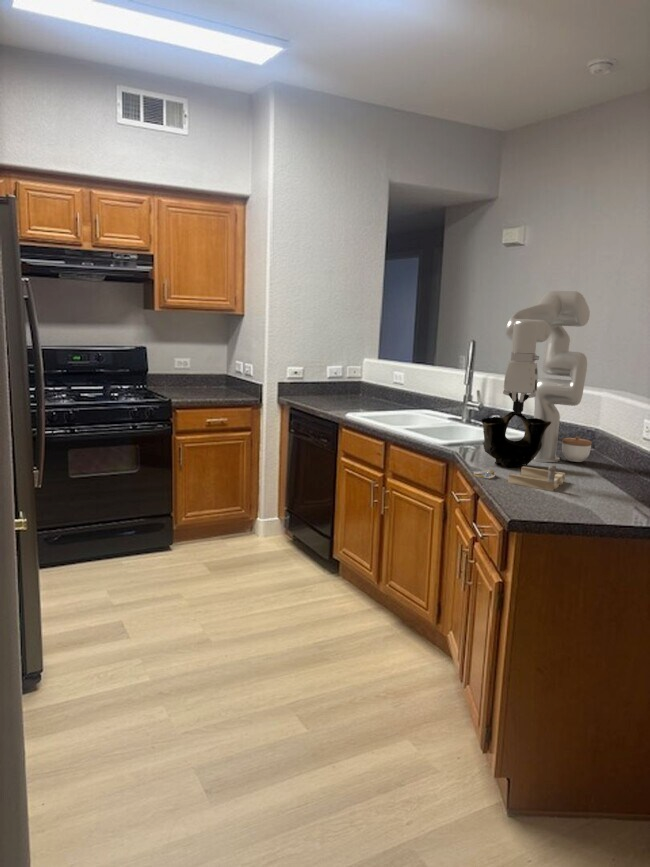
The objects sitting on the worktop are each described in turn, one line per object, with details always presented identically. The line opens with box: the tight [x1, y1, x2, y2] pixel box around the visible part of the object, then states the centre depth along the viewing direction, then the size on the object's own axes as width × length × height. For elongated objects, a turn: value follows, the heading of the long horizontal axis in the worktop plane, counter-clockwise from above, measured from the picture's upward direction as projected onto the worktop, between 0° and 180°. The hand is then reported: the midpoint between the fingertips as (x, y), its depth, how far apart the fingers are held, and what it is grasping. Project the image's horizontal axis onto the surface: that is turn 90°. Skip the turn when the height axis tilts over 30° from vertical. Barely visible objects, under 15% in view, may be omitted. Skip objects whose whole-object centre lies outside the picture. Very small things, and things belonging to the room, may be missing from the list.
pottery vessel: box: [480, 410, 551, 468], centre depth 236 cm, size 25×11×20 cm, turn 91°
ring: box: [473, 469, 496, 479], centre depth 218 cm, size 7×3×8 cm
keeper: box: [507, 464, 566, 492], centre depth 212 cm, size 18×14×8 cm
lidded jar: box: [561, 435, 593, 463], centre depth 250 cm, size 11×11×9 cm
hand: (517, 413), depth 216 cm, fingers closed
